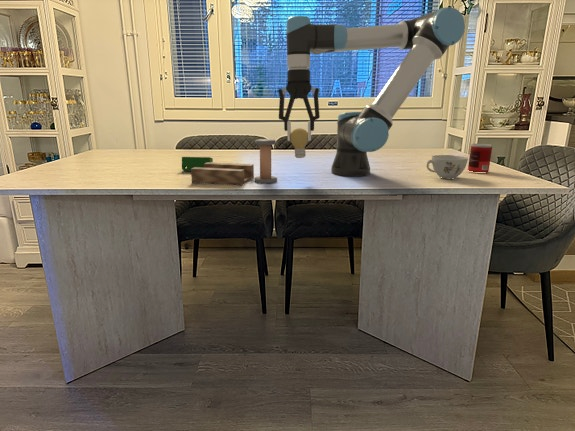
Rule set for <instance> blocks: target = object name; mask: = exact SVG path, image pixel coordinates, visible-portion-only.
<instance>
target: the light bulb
mask: <svg viewBox="0 0 575 431" xmlns="http://www.w3.org/2000/svg"><path fill="white" fill-rule="evenodd" d="M290 140H291V141H290V142H291V144H292V145H293V147H294V157H295V158H297V159H303V158H305V157H306V145H307V144H308V142H309V141H308V130H307V129H305V128H300V127H299V128H296V129H293V130H291V135H290Z"/></svg>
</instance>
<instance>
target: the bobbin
mask: <svg viewBox="0 0 575 431" xmlns="http://www.w3.org/2000/svg"><path fill="white" fill-rule="evenodd" d="M276 141H277V140H276V139H268V138H267V139H266V138H265V139H264V138H261V139H255V140H254V142H255V145H256V146H257V145H258V146H259V176H254V178H253V180H254V183H255V184H259V185H260V184H261V185H263V184H264V185H267V184H268V185H269V184H270V185H271V184H275V183H278V177H276V176H272V146H273V145H276Z"/></svg>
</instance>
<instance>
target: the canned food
mask: <svg viewBox="0 0 575 431" xmlns="http://www.w3.org/2000/svg"><path fill="white" fill-rule="evenodd" d="M469 150H470V151H469V157H468V166H467V170H469V171H473V172H488V173H489V170H490V164H491V160H492V159H491V158H492V153H493V152H492V151H493V144H490V143H489V144H488V143H471V144H470V149H469Z"/></svg>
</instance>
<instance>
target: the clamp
mask: <svg viewBox="0 0 575 431" xmlns="http://www.w3.org/2000/svg"><path fill="white" fill-rule="evenodd" d="M213 159H214V158H212V157H211V156H206V157H205V156H181V169H182V171H183V172H191V169H192V168H194V167H202V168H204V164H205V163H207V162H211V163H214V160H213Z"/></svg>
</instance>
